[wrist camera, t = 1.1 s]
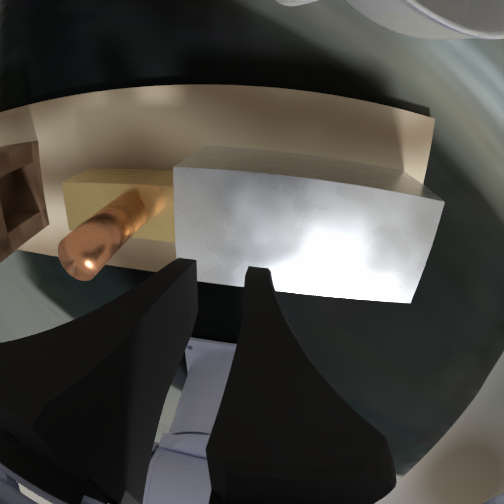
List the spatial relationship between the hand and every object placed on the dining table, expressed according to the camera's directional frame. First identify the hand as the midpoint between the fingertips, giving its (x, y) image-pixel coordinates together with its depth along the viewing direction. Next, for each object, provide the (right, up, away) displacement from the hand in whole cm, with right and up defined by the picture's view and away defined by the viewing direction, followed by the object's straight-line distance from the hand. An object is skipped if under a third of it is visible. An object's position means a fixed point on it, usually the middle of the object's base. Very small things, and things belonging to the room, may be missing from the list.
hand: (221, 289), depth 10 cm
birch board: (-5, +6, +9) cm, 12 cm away
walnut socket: (-18, +7, +10) cm, 21 cm away
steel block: (+4, +4, +8) cm, 10 cm away
